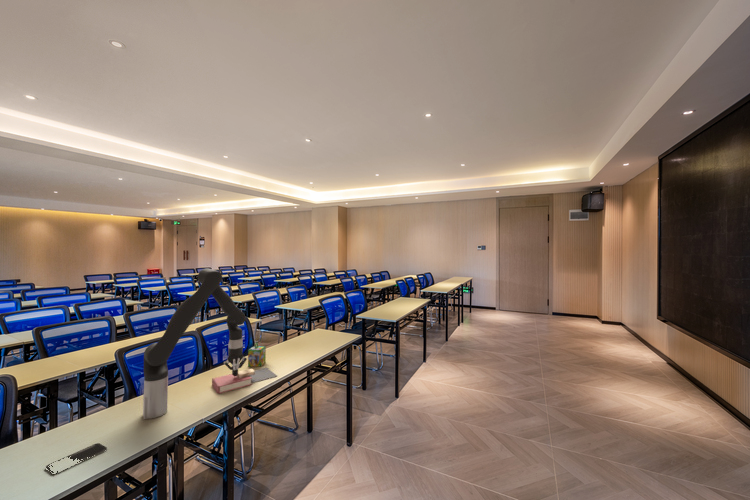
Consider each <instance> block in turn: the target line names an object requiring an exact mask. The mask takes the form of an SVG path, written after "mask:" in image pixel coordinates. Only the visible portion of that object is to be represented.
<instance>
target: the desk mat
mask: <svg viewBox="0 0 750 500" xmlns="http://www.w3.org/2000/svg"><path fill="white" fill-rule="evenodd" d="M253 370H254V371H255V375H252V376H250V377H251V378H252V379H251V384H254V383H258V382H262V381H265V380H269V378H270V379H273V378H276V377H278V375H277V374H276V373H274V372H273V371H272V370H271V369H269V368H268V367H263V368H259V369H253Z"/></svg>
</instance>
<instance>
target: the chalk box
mask: <svg viewBox="0 0 750 500" xmlns="http://www.w3.org/2000/svg"><path fill="white" fill-rule="evenodd" d="M258 344H259V343H258V342H256V343H254V345H253V346H252V347H250V348H249V349H248V350H247V352H248V353H247V354H248V355H247V367H250V368H251V367H256V368H257V367H261V368H262V366H263V365H264V364H265V363H266V358H267V357H266V355H267V353H266V349H267V347H266V346H263V345H262V346H261V345H258Z"/></svg>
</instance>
